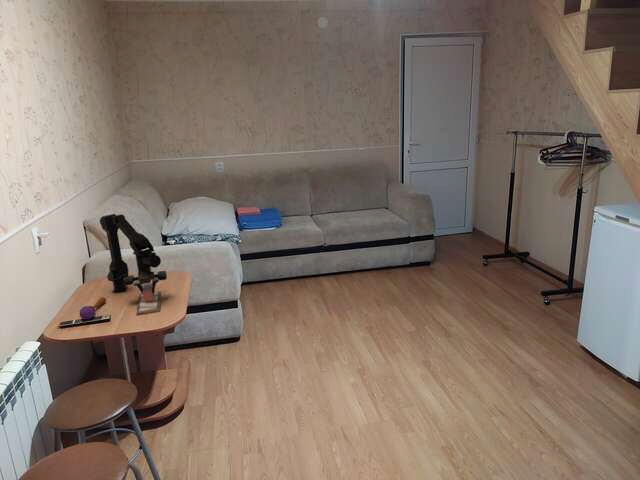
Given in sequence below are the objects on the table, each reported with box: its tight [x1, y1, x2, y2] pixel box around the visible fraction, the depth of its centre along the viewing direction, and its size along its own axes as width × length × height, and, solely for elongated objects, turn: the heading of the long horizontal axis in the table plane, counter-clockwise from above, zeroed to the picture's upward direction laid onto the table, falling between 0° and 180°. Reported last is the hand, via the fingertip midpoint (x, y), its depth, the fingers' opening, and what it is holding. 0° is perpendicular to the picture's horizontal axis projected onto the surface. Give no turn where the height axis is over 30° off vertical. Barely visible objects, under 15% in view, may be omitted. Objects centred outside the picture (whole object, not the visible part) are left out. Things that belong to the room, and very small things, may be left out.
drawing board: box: [136, 290, 162, 316], centre depth 220 cm, size 24×10×1 cm, turn 17°
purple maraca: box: [79, 296, 107, 320], centre depth 214 cm, size 6×6×20 cm
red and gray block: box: [142, 283, 154, 302], centre depth 223 cm, size 11×4×4 cm, turn 18°
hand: (148, 294), depth 223 cm, fingers closed on red and gray block, 4 cm apart
